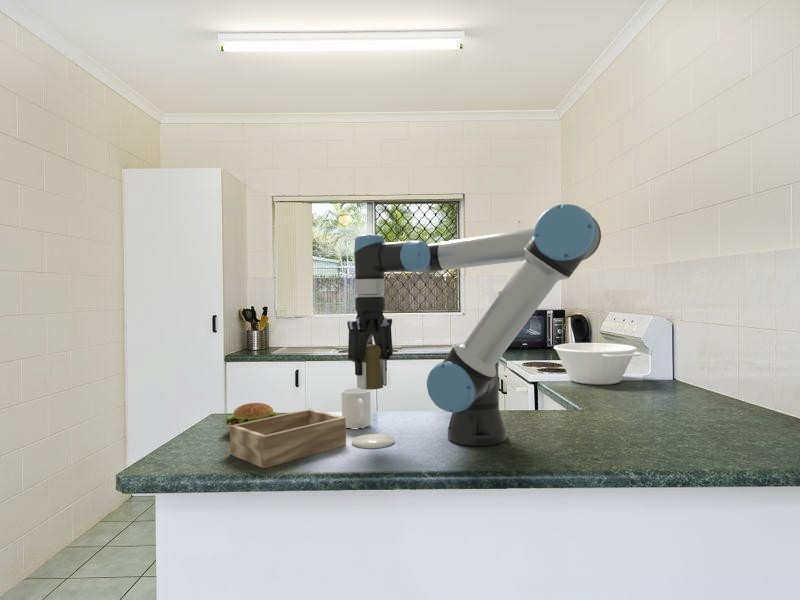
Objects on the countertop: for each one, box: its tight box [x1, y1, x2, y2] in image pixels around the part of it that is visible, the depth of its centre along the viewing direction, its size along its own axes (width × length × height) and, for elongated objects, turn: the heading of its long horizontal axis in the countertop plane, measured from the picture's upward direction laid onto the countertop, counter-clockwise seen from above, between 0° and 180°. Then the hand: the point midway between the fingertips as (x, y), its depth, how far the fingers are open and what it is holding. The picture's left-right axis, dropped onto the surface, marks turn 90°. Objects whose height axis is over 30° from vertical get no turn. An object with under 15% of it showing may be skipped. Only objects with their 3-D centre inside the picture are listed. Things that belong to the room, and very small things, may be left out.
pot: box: [553, 342, 642, 386], centre depth 217 cm, size 40×32×14 cm
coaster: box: [351, 433, 396, 450], centre depth 137 cm, size 11×11×1 cm
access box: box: [229, 408, 347, 469], centre depth 132 cm, size 15×23×7 cm, turn 135°
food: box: [225, 402, 279, 426], centre depth 150 cm, size 14×14×8 cm
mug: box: [341, 387, 372, 428], centre depth 152 cm, size 12×8×10 cm
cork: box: [361, 343, 384, 391], centre depth 137 cm, size 6×6×11 cm
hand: (371, 386), depth 137 cm, fingers closed on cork, 6 cm apart
